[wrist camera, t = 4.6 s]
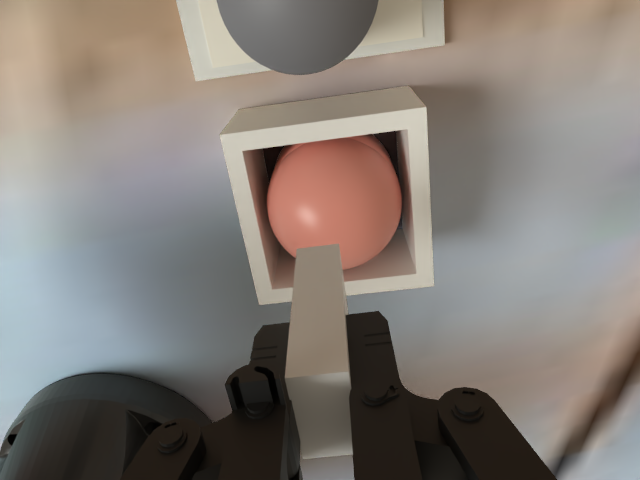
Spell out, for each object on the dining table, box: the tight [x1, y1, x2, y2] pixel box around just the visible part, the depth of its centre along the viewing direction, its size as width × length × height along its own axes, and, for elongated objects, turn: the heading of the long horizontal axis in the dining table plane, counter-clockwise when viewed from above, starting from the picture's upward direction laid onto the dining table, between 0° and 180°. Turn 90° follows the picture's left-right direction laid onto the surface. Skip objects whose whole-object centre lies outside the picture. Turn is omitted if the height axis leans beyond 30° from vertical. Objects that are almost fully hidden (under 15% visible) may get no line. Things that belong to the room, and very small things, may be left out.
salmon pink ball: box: [267, 134, 402, 270], centre depth 24 cm, size 6×6×6 cm
